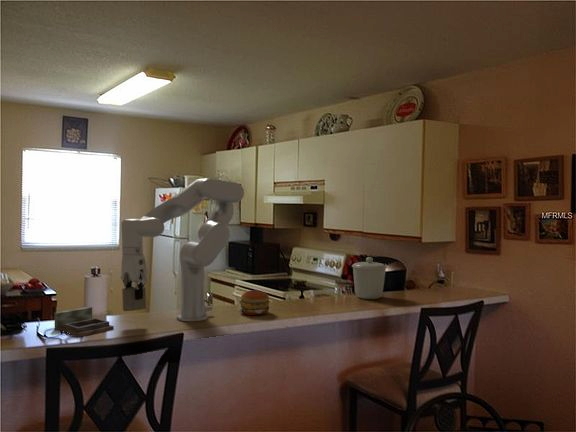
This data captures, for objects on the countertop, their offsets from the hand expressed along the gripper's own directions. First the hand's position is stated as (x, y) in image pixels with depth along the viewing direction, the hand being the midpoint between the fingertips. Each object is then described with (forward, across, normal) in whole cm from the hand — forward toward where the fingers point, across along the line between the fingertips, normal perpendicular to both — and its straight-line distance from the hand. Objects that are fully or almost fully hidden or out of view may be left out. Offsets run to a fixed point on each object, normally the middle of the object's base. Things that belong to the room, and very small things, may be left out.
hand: (134, 297), depth 190 cm
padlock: (+5, 0, 0) cm, 5 cm away
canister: (+17, -41, -113) cm, 122 cm away
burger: (+13, -20, -46) cm, 53 cm away
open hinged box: (+10, +10, +16) cm, 21 cm away
